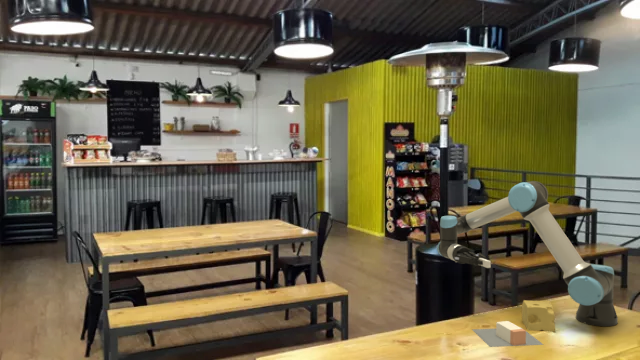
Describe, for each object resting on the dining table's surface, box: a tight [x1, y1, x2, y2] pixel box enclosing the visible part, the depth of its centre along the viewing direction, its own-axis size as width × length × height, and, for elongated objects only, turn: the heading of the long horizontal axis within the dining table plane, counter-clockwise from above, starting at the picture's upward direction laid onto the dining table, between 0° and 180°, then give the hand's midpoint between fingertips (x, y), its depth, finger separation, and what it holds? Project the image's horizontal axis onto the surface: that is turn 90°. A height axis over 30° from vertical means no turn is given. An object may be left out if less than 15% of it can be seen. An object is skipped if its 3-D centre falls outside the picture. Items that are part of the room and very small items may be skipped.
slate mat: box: [471, 327, 545, 348], centre depth 200 cm, size 20×18×1 cm
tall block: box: [495, 320, 527, 347], centre depth 197 cm, size 5×5×11 cm
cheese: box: [521, 299, 556, 334], centre depth 211 cm, size 10×11×10 cm
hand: (488, 264), depth 214 cm, fingers closed
